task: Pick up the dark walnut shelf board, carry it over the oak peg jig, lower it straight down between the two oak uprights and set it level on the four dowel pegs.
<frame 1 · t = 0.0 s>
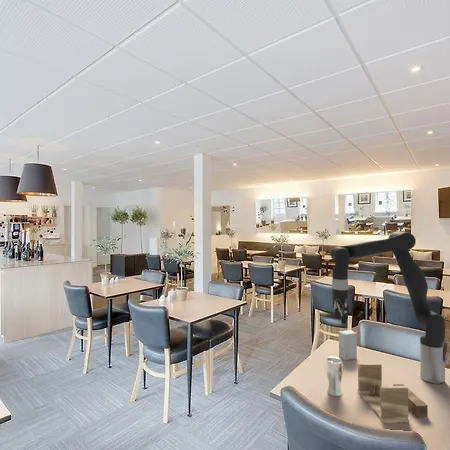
hand: (340, 320, 148), 29 cm above the table, fingers open, 8 cm apart
peg jig: (381, 405, 127), on the table
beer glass: (334, 393, 137), on the table
shelf board: (409, 405, 127), on the table
skincare box: (347, 357, 173), on the table
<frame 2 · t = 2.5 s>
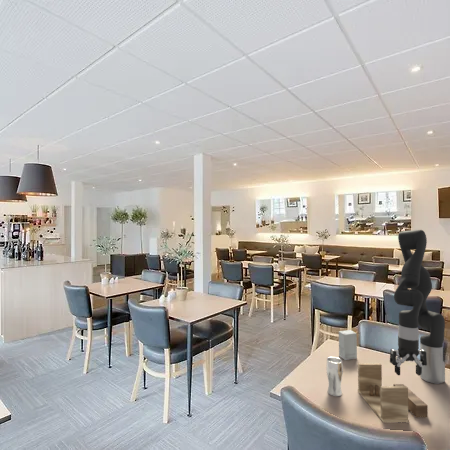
hand: (408, 374, 128), 13 cm above the table, fingers open, 8 cm apart
nothing on the table moved.
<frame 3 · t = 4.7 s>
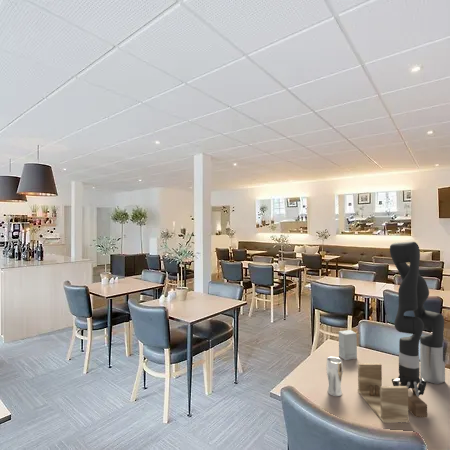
hand: (409, 403, 127), 1 cm above the table, fingers closed on shelf board, 4 cm apart
shelf board: (409, 405, 127), on the table, touching gripper
everything else where it was.
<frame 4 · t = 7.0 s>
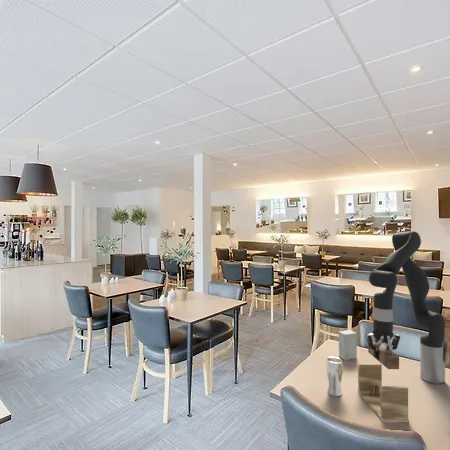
hand: (382, 358, 127), 20 cm above the table, fingers closed on shelf board, 4 cm apart
shelf board: (382, 360, 127), point 19 cm above the table, touching gripper
everything else where it was.
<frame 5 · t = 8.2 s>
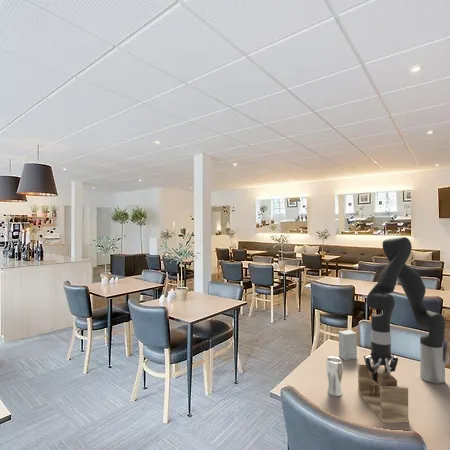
hand: (380, 380, 127), 10 cm above the table, fingers closed on shelf board, 4 cm apart
shelf board: (381, 382, 127), point 10 cm above the table, touching gripper
everything else where it was.
when the fingers open (7 cm above the table, at t = 9.4 s): shelf board drops 1 cm, resting on peg jig.
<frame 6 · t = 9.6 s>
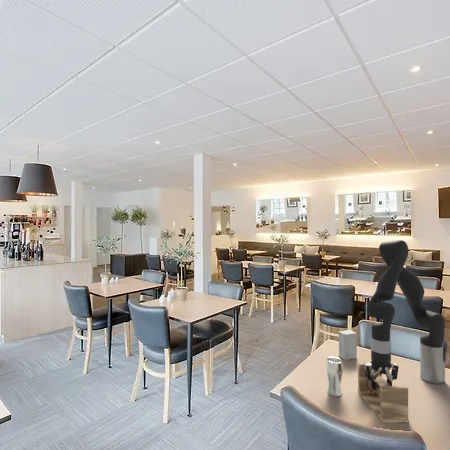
hand: (381, 388, 127), 7 cm above the table, fingers open, 6 cm apart
shelf board: (381, 393, 127), point 5 cm above the table, touching peg jig
everything else where it was.
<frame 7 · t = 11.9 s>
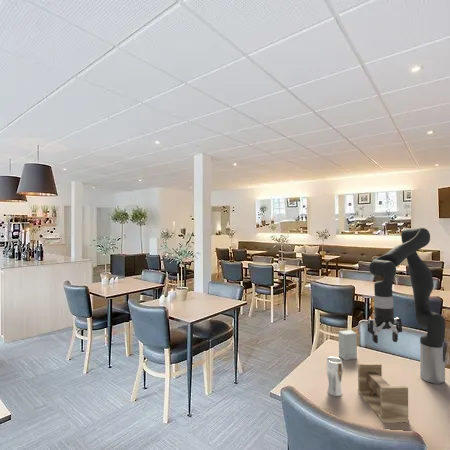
hand: (385, 342, 133), 25 cm above the table, fingers open, 8 cm apart
nothing on the table moved.
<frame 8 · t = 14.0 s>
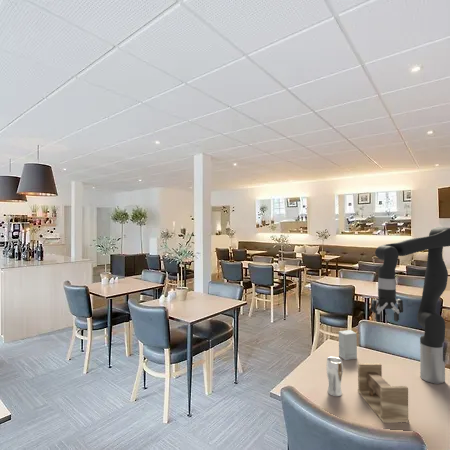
hand: (387, 321, 144), 30 cm above the table, fingers open, 8 cm apart
nothing on the table moved.
at the end: shelf board 0.1 cm off-centre on the peg jig, point 5.0 cm above the peg jig's base; shelf board tilted 0°; the gripper is holding nothing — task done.
